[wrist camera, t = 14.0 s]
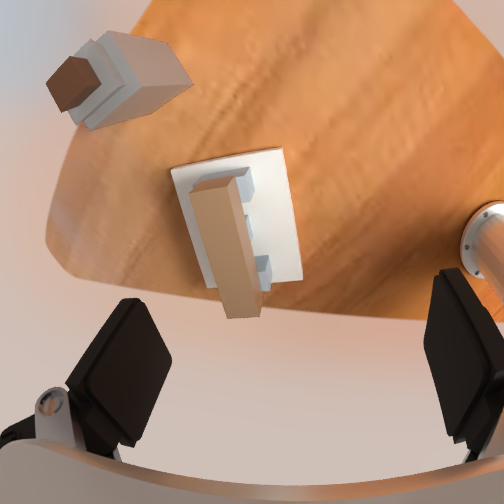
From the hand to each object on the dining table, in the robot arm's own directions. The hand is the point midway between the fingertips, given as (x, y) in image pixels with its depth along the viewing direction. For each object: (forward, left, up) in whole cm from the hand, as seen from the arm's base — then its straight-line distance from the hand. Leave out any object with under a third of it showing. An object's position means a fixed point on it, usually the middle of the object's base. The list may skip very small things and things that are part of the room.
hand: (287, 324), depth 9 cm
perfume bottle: (+15, -12, -31) cm, 36 cm away
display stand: (+9, +9, -30) cm, 33 cm away
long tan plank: (+9, +9, -25) cm, 28 cm away
